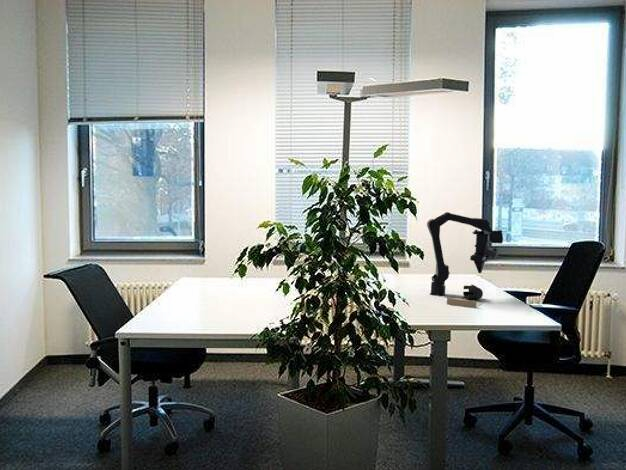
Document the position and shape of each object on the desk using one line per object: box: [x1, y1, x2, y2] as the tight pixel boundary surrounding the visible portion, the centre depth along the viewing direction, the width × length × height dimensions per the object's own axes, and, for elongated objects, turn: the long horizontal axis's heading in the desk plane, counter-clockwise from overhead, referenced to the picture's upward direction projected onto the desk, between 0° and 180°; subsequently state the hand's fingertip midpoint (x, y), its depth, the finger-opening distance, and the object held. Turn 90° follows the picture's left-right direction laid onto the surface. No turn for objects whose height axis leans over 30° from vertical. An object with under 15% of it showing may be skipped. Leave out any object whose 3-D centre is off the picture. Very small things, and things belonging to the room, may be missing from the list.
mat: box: [446, 297, 485, 309], centre depth 316 cm, size 14×15×3 cm
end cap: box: [462, 283, 484, 302], centre depth 326 cm, size 10×7×7 cm
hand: (480, 272), depth 336 cm, fingers closed
